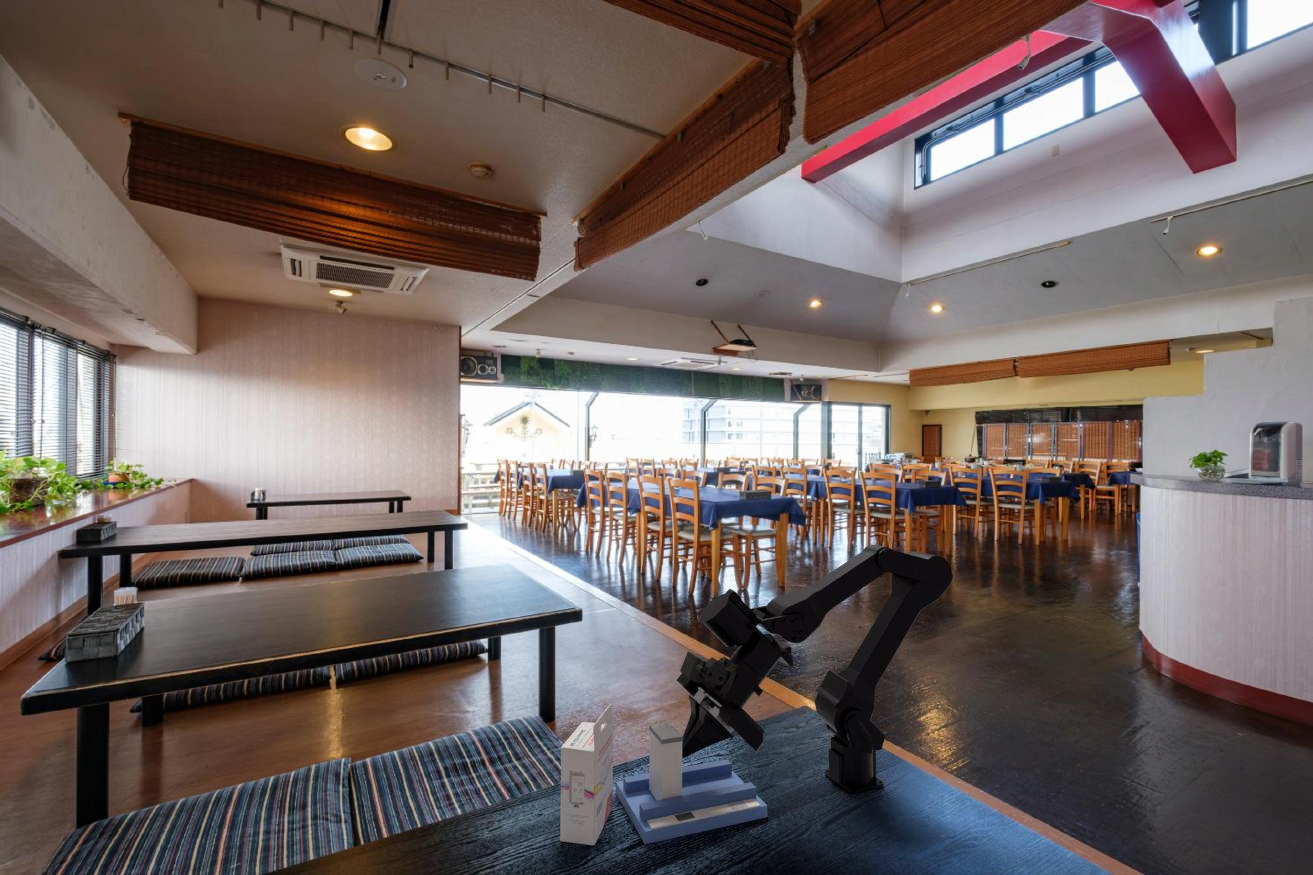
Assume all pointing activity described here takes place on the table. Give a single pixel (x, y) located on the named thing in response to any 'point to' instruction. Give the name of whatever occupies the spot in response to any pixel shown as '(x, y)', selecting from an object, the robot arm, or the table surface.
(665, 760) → the switch tab
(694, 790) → the blue railed tray
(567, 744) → the ink cartridge box
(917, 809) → the table surface
